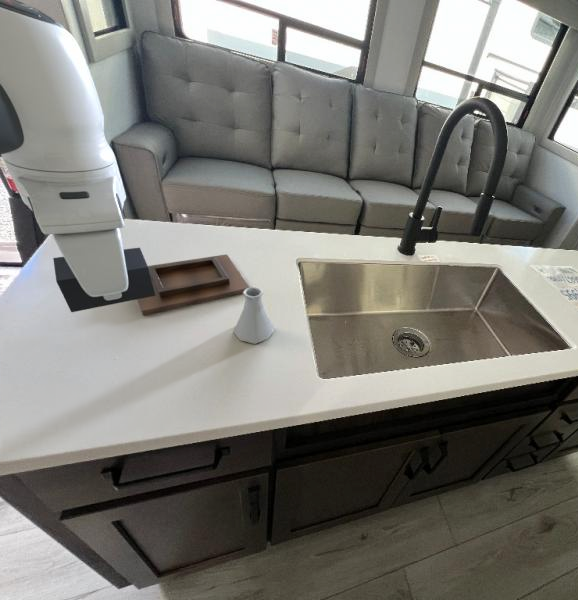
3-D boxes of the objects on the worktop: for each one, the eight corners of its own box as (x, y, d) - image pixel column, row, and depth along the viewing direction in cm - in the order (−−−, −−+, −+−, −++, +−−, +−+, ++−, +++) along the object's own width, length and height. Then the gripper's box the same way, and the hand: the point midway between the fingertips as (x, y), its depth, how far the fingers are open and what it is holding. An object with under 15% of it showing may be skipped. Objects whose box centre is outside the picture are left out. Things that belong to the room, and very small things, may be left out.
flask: (281, 329, 68) (282, 291, 62) (255, 349, 62) (253, 309, 56) (254, 314, 70) (252, 275, 64) (225, 332, 64) (221, 292, 58)
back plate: (143, 315, 62) (139, 304, 61) (127, 273, 70) (124, 263, 69) (250, 291, 75) (250, 282, 73) (227, 258, 83) (226, 248, 81)
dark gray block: (71, 312, 42) (56, 281, 39) (67, 288, 45) (52, 257, 42) (156, 295, 47) (148, 267, 45) (147, 275, 50) (139, 247, 47)
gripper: (29, 151, 40) (70, 248, 49) (36, 228, 30) (87, 336, 38) (97, 152, 44) (124, 242, 52) (124, 221, 34) (153, 320, 42)
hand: (109, 282), depth 45 cm, fingers closed on dark gray block, 5 cm apart
